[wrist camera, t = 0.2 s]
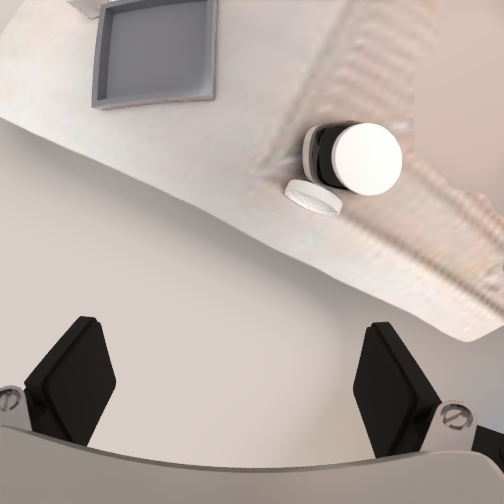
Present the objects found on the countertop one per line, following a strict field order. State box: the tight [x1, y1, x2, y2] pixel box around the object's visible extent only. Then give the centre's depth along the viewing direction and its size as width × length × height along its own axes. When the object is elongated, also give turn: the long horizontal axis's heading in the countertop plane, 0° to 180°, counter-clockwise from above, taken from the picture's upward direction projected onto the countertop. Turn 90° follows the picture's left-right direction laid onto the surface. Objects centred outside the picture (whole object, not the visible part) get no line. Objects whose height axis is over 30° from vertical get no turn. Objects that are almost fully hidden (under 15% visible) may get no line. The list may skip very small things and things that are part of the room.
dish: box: [92, 0, 218, 110], centre depth 32 cm, size 15×15×4 cm
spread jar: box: [285, 121, 402, 217], centre depth 33 cm, size 12×11×12 cm
